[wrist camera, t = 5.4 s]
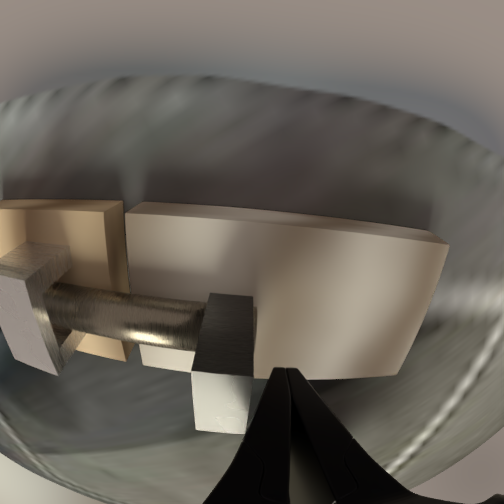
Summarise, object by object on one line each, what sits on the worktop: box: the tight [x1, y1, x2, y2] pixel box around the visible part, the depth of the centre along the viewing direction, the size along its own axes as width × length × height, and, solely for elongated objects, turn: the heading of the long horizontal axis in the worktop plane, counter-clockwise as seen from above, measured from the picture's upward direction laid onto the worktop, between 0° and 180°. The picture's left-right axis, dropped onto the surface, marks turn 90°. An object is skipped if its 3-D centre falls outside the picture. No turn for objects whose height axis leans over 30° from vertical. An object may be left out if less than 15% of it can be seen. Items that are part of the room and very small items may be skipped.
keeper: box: [0, 241, 87, 376], centre depth 10 cm, size 3×5×3 cm, turn 175°
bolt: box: [42, 281, 257, 434], centre depth 9 cm, size 10×3×5 cm, turn 85°
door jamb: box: [0, 199, 450, 380], centre depth 13 cm, size 24×8×2 cm, turn 85°
